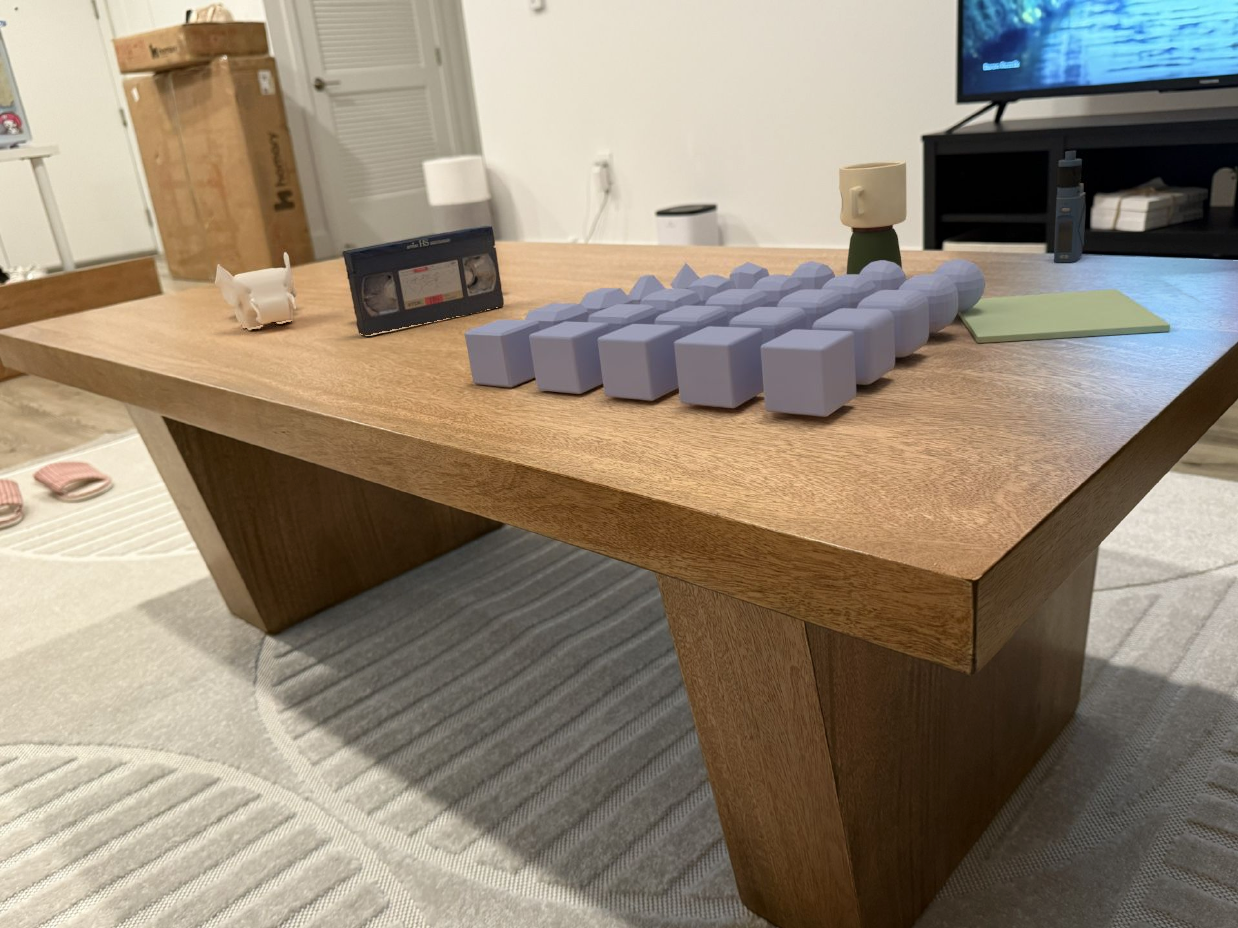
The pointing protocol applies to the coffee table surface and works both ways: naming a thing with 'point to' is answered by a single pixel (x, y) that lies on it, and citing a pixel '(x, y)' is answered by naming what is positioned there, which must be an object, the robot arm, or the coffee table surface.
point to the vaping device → (1069, 210)
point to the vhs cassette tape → (424, 279)
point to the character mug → (873, 211)
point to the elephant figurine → (259, 294)
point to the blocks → (730, 335)
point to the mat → (1059, 316)
